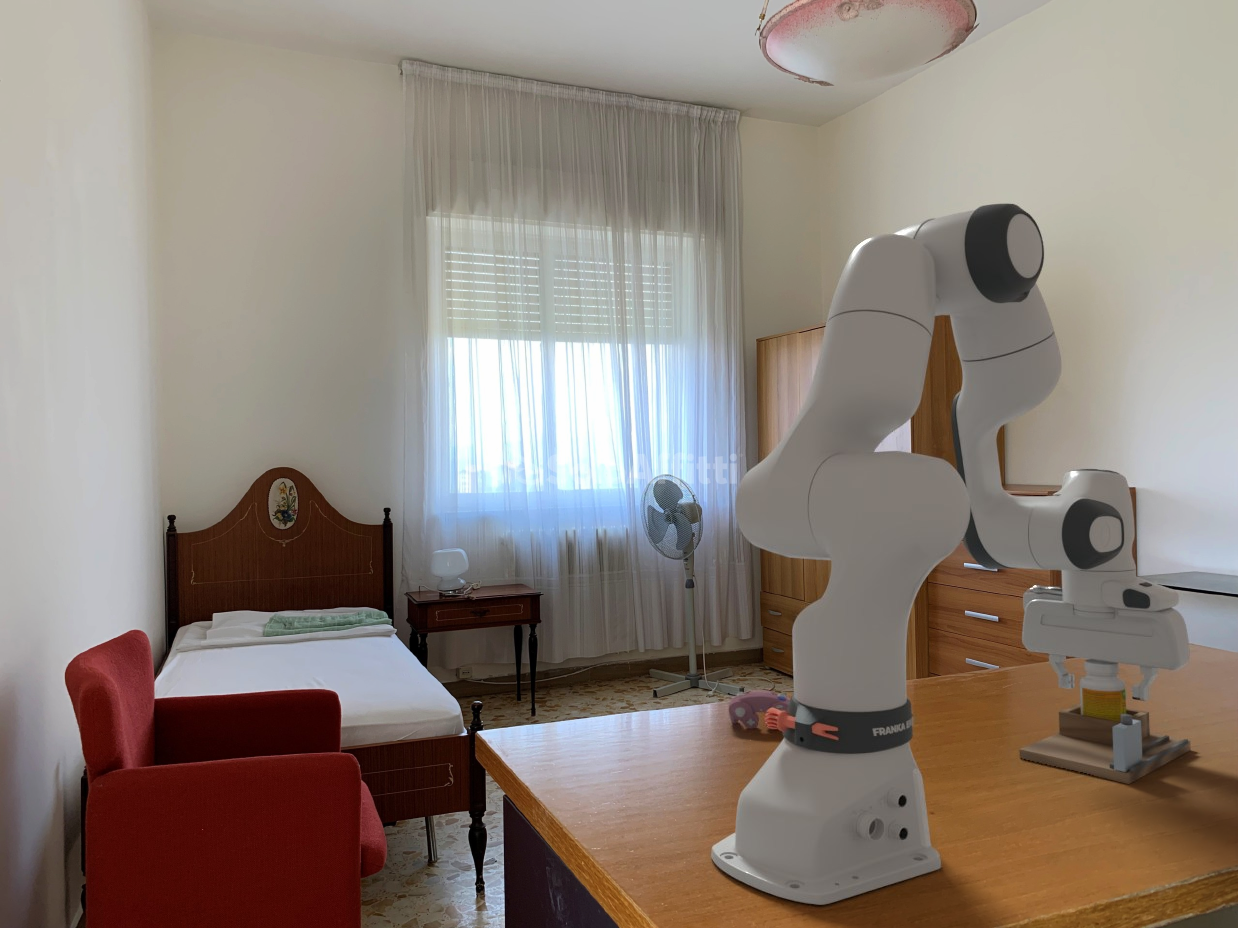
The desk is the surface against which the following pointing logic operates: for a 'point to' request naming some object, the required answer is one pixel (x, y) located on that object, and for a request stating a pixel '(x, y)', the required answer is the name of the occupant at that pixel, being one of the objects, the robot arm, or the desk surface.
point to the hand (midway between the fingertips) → (1102, 693)
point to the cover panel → (1127, 743)
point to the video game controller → (755, 706)
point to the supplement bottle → (1102, 691)
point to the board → (1101, 746)
